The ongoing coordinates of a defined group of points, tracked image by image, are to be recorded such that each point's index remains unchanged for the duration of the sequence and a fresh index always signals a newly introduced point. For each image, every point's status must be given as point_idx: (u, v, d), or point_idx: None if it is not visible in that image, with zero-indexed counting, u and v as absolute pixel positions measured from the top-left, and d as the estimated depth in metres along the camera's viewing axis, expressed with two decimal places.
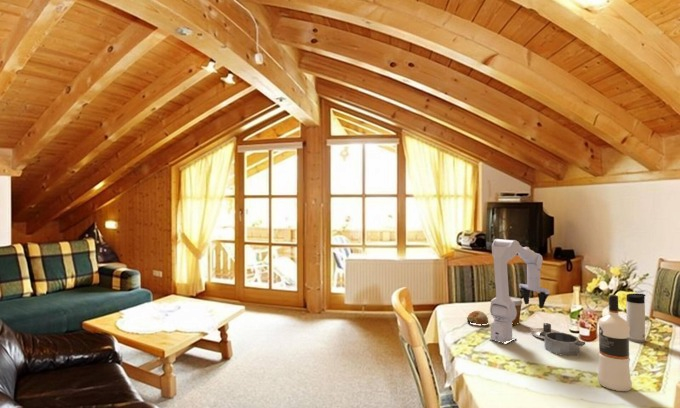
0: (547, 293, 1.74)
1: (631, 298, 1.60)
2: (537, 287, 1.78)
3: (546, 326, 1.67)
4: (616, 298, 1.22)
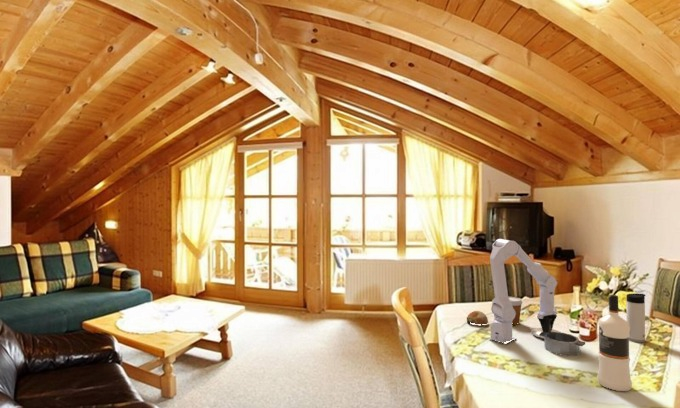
0: (538, 317, 1.64)
1: (631, 298, 1.60)
2: (541, 310, 1.67)
3: None
4: (616, 298, 1.22)
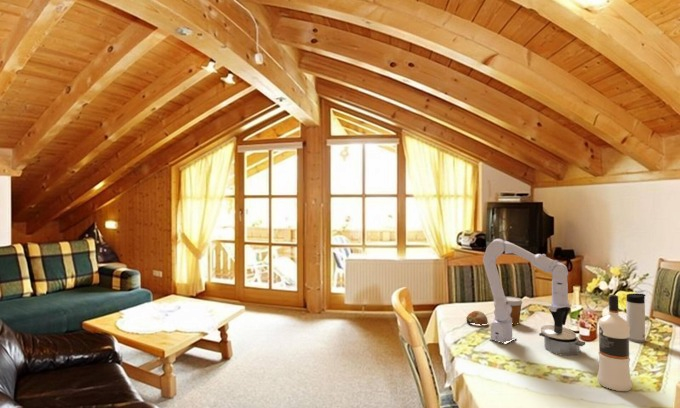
0: (551, 310, 1.51)
1: (631, 298, 1.60)
2: (554, 303, 1.54)
3: None
4: (616, 298, 1.22)
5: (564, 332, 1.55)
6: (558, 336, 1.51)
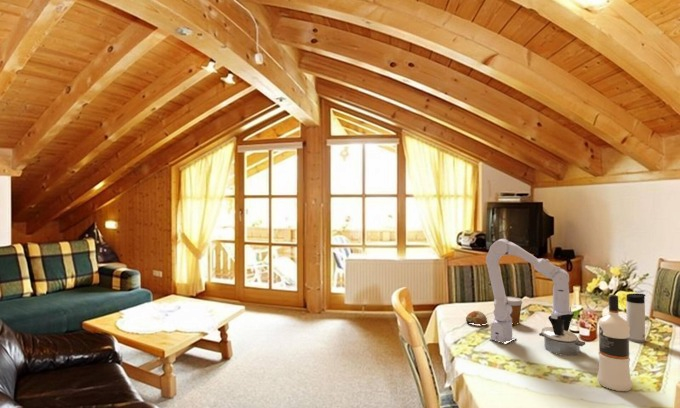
0: (552, 317, 1.49)
1: (631, 298, 1.60)
2: (555, 310, 1.53)
3: None
4: (616, 298, 1.22)
5: (565, 334, 1.53)
6: (559, 337, 1.50)
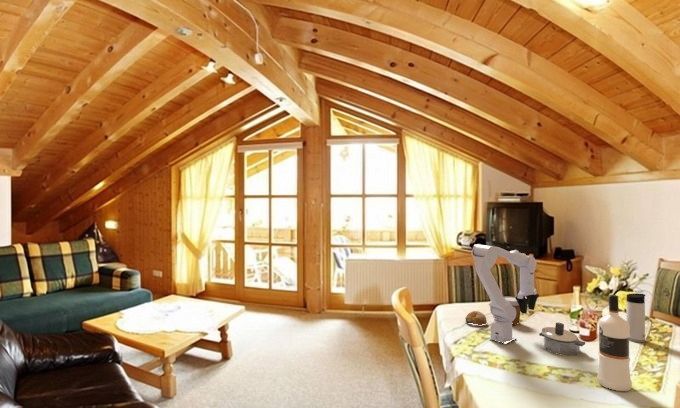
0: (518, 297, 1.67)
1: (631, 298, 1.60)
2: (521, 291, 1.70)
3: (558, 326, 1.53)
4: (616, 298, 1.22)
5: (565, 334, 1.53)
6: (559, 337, 1.50)
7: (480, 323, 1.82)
